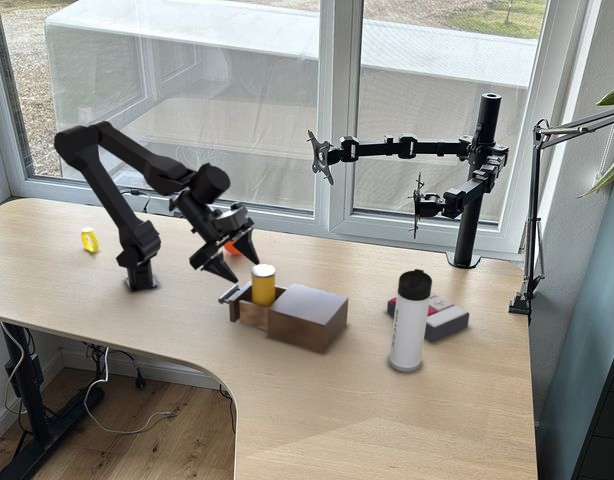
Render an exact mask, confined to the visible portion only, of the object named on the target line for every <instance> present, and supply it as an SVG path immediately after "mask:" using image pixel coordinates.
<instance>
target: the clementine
mask: <svg viewBox="0 0 614 480" xmlns="http://www.w3.org/2000/svg"><path fill="white" fill-rule="evenodd" d="M224 238H225V237H224ZM224 238H223V239H224ZM233 243H235V242H234V241H233V242H231V241H229V242H228V243H226V244H225V245H224V246H223V248H224V250H225V251H226V252H228V253H229V254H231V255H242V253H240V252H239V251H238V250H237V249H236V248H234V247H233V246H232V244H233Z"/></svg>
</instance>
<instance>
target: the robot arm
mask: <svg viewBox="0 0 614 480" xmlns="http://www.w3.org/2000/svg"><path fill="white" fill-rule="evenodd" d="M100 147H101V148H102V149H104V150H105V151H107V152H108V153H109V154H111V155H113V156H114V157H116V158H117V159H119V160H120V161H122V162H123V163H125V164H126V165H128V166H129V167H131V168H132V169H134V170H135V171H137V172H138V173H139V174H141V175H142V177H143V178H144V180H145V183H146V184H147V186H149V187H150V188H151V189H152V190H153V191H155V192H156V193H157V194H158V195H160V196H161V197H169V196H171V197H170V198H168V201H169V203H168V204H169V205H168V211H169V212H170V213H172V212H174V211H175V210H178V211H179V212H180V214H181V215H182V216H183V217H184V219H185V220H186V221H187V222H188V223H189V224H190V226H191V227H192V228H191V229H190V232H191V233H192V234H193V235H195V234H196V233H197V234H198V236H199V237H200V238H201V239H202V240H203V241H204V244H203V245H202V246H201V247H199V248H198V249H197V250H196V251H195V252H194V253H193V254H192V255H190V257H189V258H188V263H189V265H190V266H191V267H192V269H193V270H194V271H197V270H198V269H199V270H200V272H203V271H205V272H207V273H210V274H212V275H215V276H218V277H220V278H222V279H224V280H226V281H228V282H231V283H232V284H234V285H237V284H238V283H239V282H240V281H239V279H238V277H237V275H236V274H235V273H234V271H233V270H232V269H231V267H230V266H229V264H228V263H227V262H226V261H225V258H224V251H223V250H221V251H219V250H220V249H222V247H224V245H225V244H226V243H228V242H229V241H231V242H233V241H234V242H235V243H233V244H232V246H233V247H234V248H236V249H237V250H238V251H239V252H240V253H241V255H243V256H244V257H245V258H246V259H247V260H249V261H250V262H251V263H252V264H254V266H257V265H260V264H261V260H260V258H259V256H258V253H257V250H256V248H255V245H254V243H253V242H254V241H253V239H252V238H253V231H254V229H255V228H254V227H252V226H254V225H255V222H254V221H253V219H252V218H251V217H250V216H248V212H249V211H248V210H249V209H247V208H246V206H245V205H244V204H243V203H242V202H241V201H237V202H236V201H235V202H233V203H232V204H231V205H230V209H229V210H227V211H226V212H223V211H222V210H221V209H220V208H217V207H216V209H214V208H213V207H212V206H211V205H213V204H214V203H215V202H216V201H218V200H219V198H220V197H222V196H223V195H224V194H225V193H226V192H227V191H228V190H229V189H230V187H231V183H232V182H231V179H230V177H229V174H228V173H227V172H226V170H223V169H222V168H221V167H218V166H216V165H212V164H211V162H210V161H206V162H205V163H203V164H201V165H200V166H199V168H198V170H196V169H193V168H190V167H187V166H186V165H185V164H183V163H182V162H180V161H179V160H176V159H174V158H172V157H169V156H165V155H159V154H156V153H154V152H152V151H150V150H149V149H148V148H146V147H145V146H143V145H142V144H140V143H138V142H137V141H135V140H134V139H132V138H131V137H130V136H128V135H126V134H125V133H124V132H122V131H120V130H118V129H117V128H115V127H114V126H113V124H112V123H111V122H110V121H108V120H104V119H103V120H99V121H97V122H94V123H91V124H90V125H88V126H85V125H82V124H77V125H74V126H72V127H68V128H66V129H64V130H61V131H59V132H56V133H55V135H54V138H53V148H54V150H55V151H56V153H57V154H58V155H59V157H60V158H61V159H62V160H63V161H64V163H65V164H66V165H68V166H69V167H71V168H73V169H74V170H76V171H78V172H79V173H80V174H81V175H82V176H83V178H84V179H85V181H86V183H87V184H88V186H89V187H90V188H91V190H92V192H93V193H94V195H95V196H96V198H97V199H98V200H99V202H100V204H101V205H102V206H103V208H104V209H105V211H106V213H107V214H108V215H109V217H110V219H111V220H112V222H113V223H114V225H115V226H116V228H117V231H118V241H119V244H120V246H121V248H122V250H121V252H120V253H119V254H118V255H117V256H116V257H115V260H116V263H117V265H118V266H119V267H120V268H124V269H126V274H127V277H125V279H124V280H125V283H126V286H127V288H128V290H129V291H130V292H131V293H134V292H140V291H144V290H149V289H154V288H158V283H157V281H156V280H155V277H154V275H153V268H152V259H153V258H155V257H157V256H158V252H159V251H160V250H161V247H162V239H161V237H160V234H161V233H160V232H159V231H158V230H157V229H156V228H155V226H154V224H153V222H152V221H151V220H150V219H147V220H145V221H144V220H143V219H141V218H139V217H138V216H137V215H136V213H135V212H134V210H133V209H132V207H131V206H130V204H129V203H128V201H127V200H126V198H125V197H124V195H123V193H122V192H121V190H120V189H119V188H118V186H117V184H116V183H115V181H114V180H113V178H112V176H111V175H110V174H109V172H108V171H107V169H106V168H105V166H104V164H103V163H102V161H101V155H100ZM174 194H178V195H174ZM172 195H173V196H172ZM224 237H225V238H224ZM223 238H224V239H223Z"/></svg>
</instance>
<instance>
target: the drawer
mask: <svg viewBox="0 0 614 480" xmlns="http://www.w3.org/2000/svg"><path fill="white" fill-rule="evenodd" d="M288 288H289V287H285V286H281V285H277V284H275V301H276V300H277V299H278V298H279V297H280V296H281V295H282V294H283V293H284V292H285V291H286V290H287V289H288ZM217 302H218V303H219V304H220V305H223V304H227V305H228V310H229V311H228V312H229V322H230V323H232V324H236V322H237V321H239V320H240V323H241V324H245V325H248V326H252V327H254V328H259V329H262V330H265V331H268V315H267V312H268V311H267V309H268V307H264V306H261V305H257V304H253V303H252V279H251V280H249V281H248V282H247V283H246V284H245V285H243V287H240V286H239V285H238V284H234V285H233V286H231V288H229V289H228V290H227V291H226V292H225V293H223V295H221V296H220V297H219V298H218V300H217Z"/></svg>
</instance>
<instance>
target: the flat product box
mask: <svg viewBox="0 0 614 480" xmlns="http://www.w3.org/2000/svg"><path fill="white" fill-rule="evenodd" d="M396 299H397V296H396V297H393V298H390V300H388V301H387V308H386V313H387V314H388V315H390V316H392V317H393V318H394V316H395V307H396ZM469 320H470V312H468V311H467V310H466V309H463V308H461V307H459V306H457V305H455V304H454V303H453V302H451V301H449V300H448V299H446V298H443V296H440V295H437V294H436V293H434V292H432V291H431V295H430V302H429V308H428V315H427V322H426V328H425V335H424V339H426V340H427V341H429V342H430V343H436V342H438V341H440V340H443V339H445V338H448V337H450V336H452V335H454V334H456V333H458V332H460V331H463V330H465V329H467V328H468V326H469Z"/></svg>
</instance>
